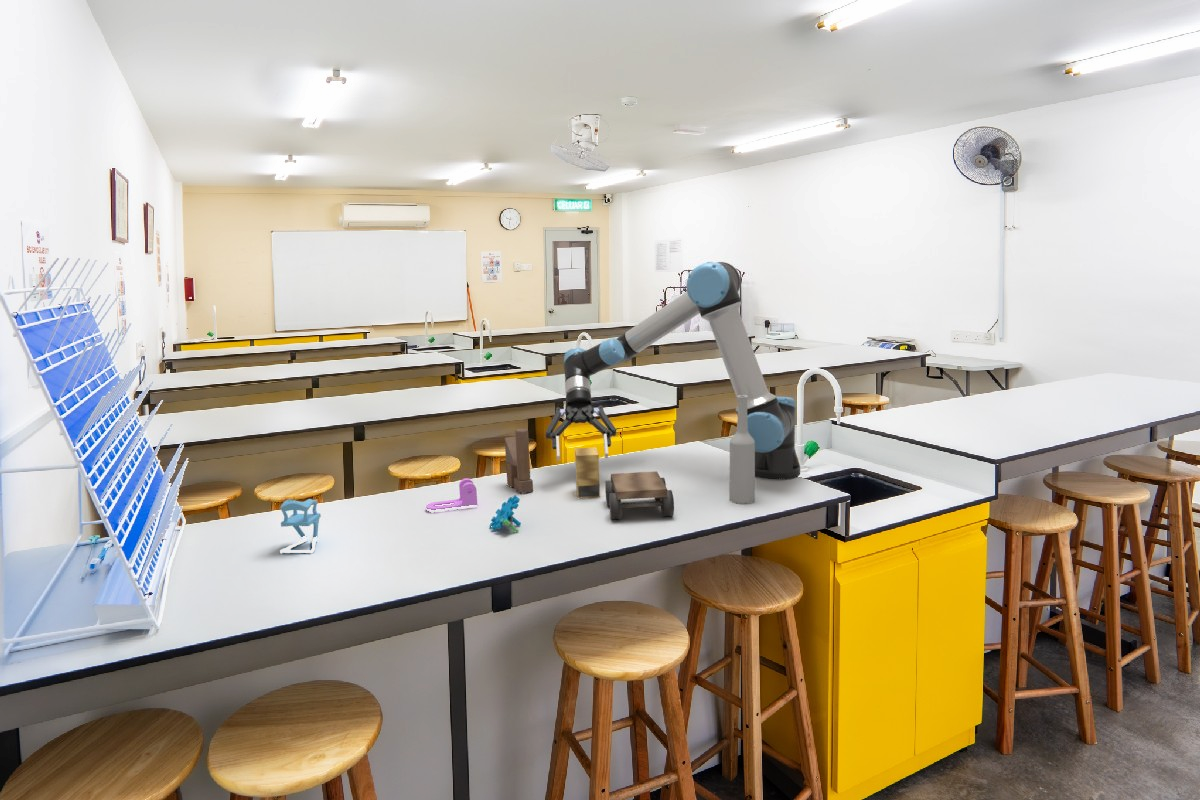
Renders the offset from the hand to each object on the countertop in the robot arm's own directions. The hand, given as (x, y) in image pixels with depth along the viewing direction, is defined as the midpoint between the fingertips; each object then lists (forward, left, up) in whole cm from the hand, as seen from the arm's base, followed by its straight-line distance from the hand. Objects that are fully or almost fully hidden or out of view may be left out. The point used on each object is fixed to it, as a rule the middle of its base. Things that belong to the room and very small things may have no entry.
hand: (582, 457), depth 206 cm
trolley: (-13, +20, -9) cm, 26 cm away
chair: (+67, +33, -10) cm, 75 cm away
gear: (+21, +28, -10) cm, 36 cm away
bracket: (+36, +10, -10) cm, 39 cm away
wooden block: (+18, -4, -10) cm, 21 cm away
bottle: (-41, +17, -10) cm, 45 cm away
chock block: (-1, +4, -9) cm, 10 cm away
